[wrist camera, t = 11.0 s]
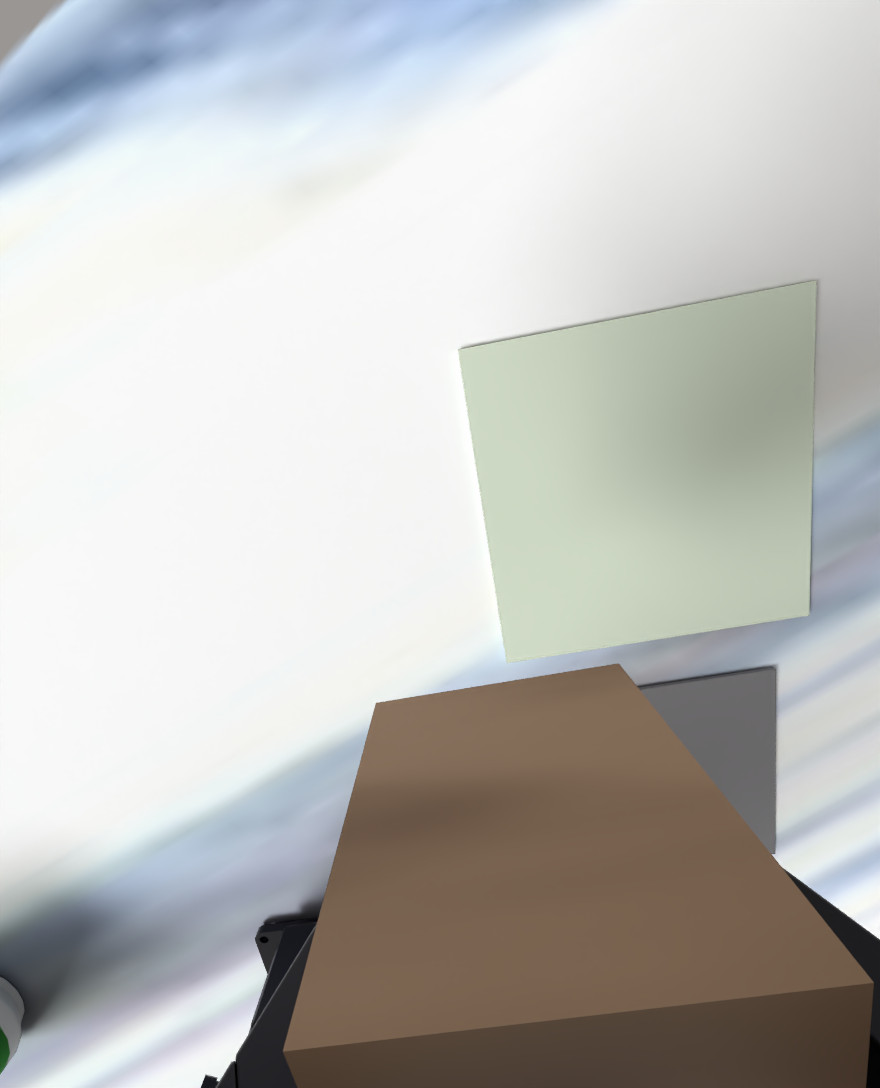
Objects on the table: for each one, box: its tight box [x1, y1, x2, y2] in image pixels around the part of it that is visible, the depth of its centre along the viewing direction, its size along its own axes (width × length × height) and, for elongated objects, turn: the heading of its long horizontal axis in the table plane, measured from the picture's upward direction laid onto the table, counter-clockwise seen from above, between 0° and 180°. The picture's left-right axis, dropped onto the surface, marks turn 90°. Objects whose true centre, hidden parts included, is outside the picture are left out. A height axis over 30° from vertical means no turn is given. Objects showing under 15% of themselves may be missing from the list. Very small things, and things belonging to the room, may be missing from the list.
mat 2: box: [638, 667, 776, 854], centre depth 21 cm, size 11×11×1 cm
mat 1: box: [458, 280, 817, 663], centre depth 18 cm, size 14×14×1 cm
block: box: [283, 664, 874, 1088], centre depth 6 cm, size 5×5×5 cm
